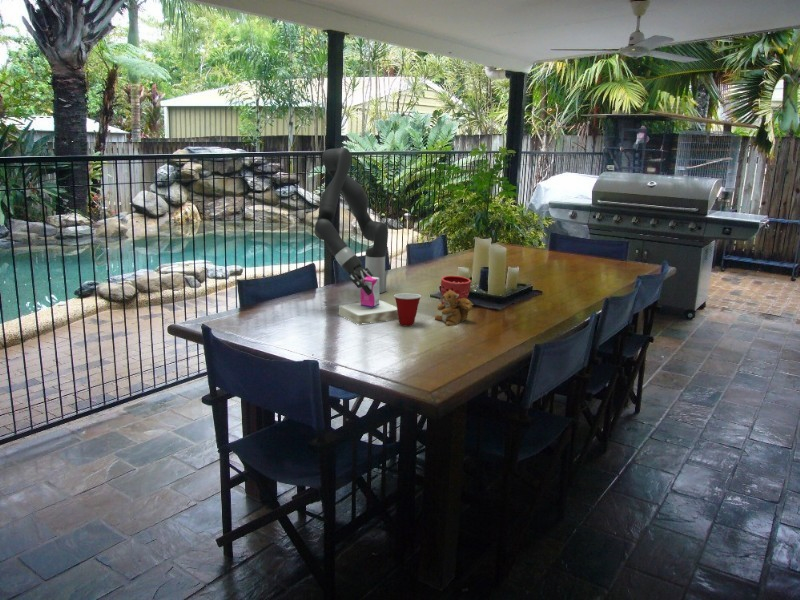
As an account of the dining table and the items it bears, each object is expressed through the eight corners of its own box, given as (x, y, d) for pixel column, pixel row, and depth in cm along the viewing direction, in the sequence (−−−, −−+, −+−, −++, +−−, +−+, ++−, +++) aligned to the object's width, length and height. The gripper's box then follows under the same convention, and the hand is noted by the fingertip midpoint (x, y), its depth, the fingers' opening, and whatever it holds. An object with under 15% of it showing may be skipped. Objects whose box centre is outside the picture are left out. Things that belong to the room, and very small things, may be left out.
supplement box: (367, 302, 271) (368, 275, 268) (379, 305, 269) (380, 277, 266) (359, 305, 267) (360, 278, 264) (372, 308, 264) (373, 280, 261)
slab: (380, 309, 281) (380, 300, 280) (400, 318, 268) (401, 309, 267) (338, 314, 270) (339, 305, 269) (358, 325, 257) (358, 315, 256)
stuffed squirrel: (432, 319, 268) (434, 288, 265) (463, 317, 274) (465, 286, 270) (443, 326, 260) (444, 294, 256) (474, 323, 265) (476, 292, 261)
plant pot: (436, 306, 288) (438, 280, 285) (443, 299, 300) (445, 274, 297) (465, 310, 285) (467, 283, 282) (471, 303, 297) (473, 277, 294)
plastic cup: (413, 319, 268) (415, 290, 265) (424, 326, 258) (425, 297, 255) (388, 321, 264) (389, 292, 261) (398, 328, 254) (399, 298, 251)
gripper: (346, 257, 259) (373, 290, 257) (361, 251, 271) (387, 282, 270) (334, 269, 262) (360, 301, 261) (350, 263, 275) (375, 293, 274)
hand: (373, 291), depth 265 cm, fingers open, 6 cm apart
